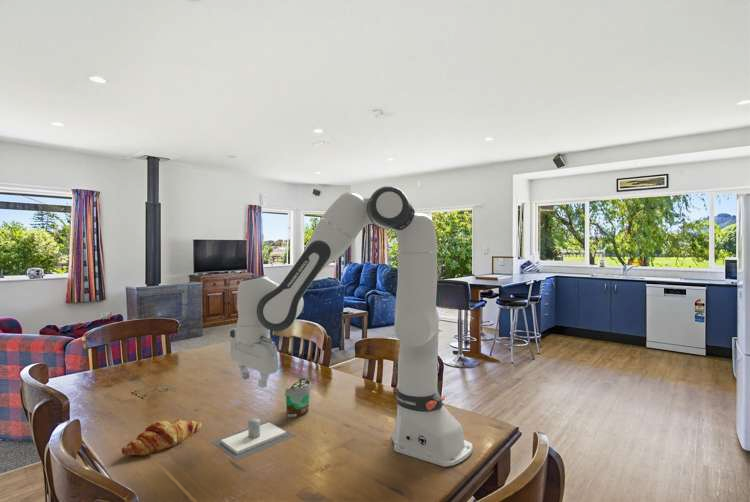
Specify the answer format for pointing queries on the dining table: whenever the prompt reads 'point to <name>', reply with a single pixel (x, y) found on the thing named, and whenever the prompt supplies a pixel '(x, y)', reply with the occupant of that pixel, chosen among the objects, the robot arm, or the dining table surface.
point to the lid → (253, 436)
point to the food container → (298, 398)
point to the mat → (253, 450)
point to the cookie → (153, 388)
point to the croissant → (161, 436)
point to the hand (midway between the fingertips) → (253, 382)
